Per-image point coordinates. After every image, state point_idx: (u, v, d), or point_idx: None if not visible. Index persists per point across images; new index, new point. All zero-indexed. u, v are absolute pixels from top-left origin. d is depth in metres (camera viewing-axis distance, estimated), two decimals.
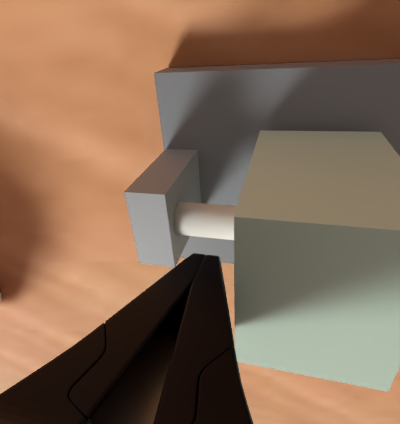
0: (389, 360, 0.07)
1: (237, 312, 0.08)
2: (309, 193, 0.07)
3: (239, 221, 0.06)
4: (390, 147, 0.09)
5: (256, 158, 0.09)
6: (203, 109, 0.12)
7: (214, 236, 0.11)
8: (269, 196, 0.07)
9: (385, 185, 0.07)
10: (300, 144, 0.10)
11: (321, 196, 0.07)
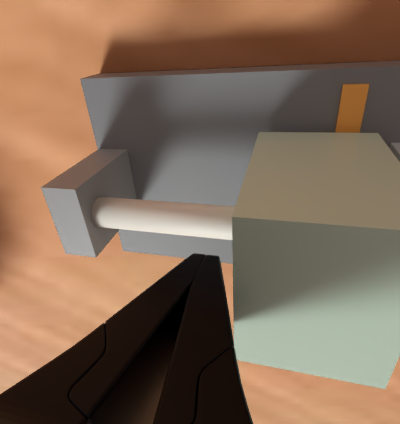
0: (385, 357, 0.07)
1: (236, 310, 0.08)
2: (306, 193, 0.07)
3: (237, 221, 0.07)
4: (387, 148, 0.09)
5: (255, 159, 0.09)
6: (127, 112, 0.13)
7: (128, 228, 0.12)
8: (267, 196, 0.07)
9: (381, 185, 0.07)
10: (298, 145, 0.10)
11: (318, 196, 0.07)
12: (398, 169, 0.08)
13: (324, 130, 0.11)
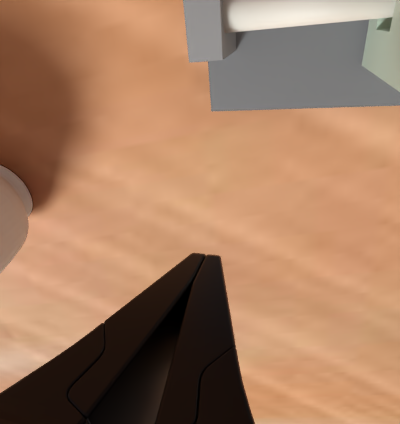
0: None
1: None
2: None
3: None
4: None
5: None
6: None
7: (259, 20, 0.12)
8: None
9: None
10: None
11: None
12: None
13: None
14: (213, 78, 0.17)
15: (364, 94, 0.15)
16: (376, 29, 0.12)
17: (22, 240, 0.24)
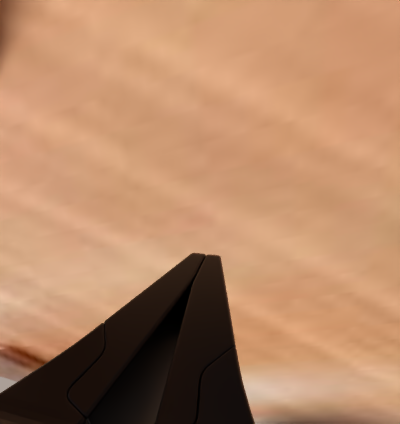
0: None
1: None
2: None
3: None
4: None
5: None
6: None
7: None
8: None
9: None
10: None
11: None
12: None
13: None
14: None
15: None
16: None
17: None
